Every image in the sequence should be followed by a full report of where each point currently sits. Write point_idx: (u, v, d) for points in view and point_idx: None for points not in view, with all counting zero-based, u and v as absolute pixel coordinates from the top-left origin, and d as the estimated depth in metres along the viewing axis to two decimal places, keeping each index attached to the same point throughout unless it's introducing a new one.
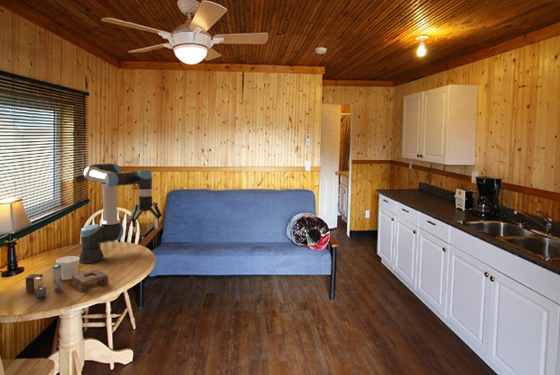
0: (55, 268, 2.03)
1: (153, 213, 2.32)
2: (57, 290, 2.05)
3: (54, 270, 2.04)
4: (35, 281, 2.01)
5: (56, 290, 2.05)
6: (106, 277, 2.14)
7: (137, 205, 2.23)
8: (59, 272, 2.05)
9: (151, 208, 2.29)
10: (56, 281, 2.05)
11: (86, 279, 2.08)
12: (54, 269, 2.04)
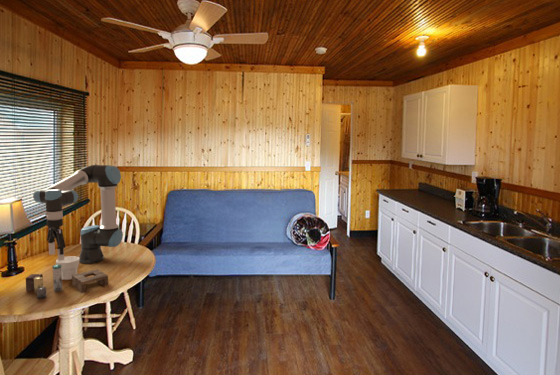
0: (55, 268, 2.03)
1: None
2: (57, 290, 2.05)
3: (54, 270, 2.04)
4: (35, 281, 2.01)
5: (56, 290, 2.05)
6: (106, 277, 2.14)
7: None
8: (59, 272, 2.05)
9: (53, 234, 2.00)
10: (56, 281, 2.05)
11: (86, 279, 2.08)
12: (54, 269, 2.04)
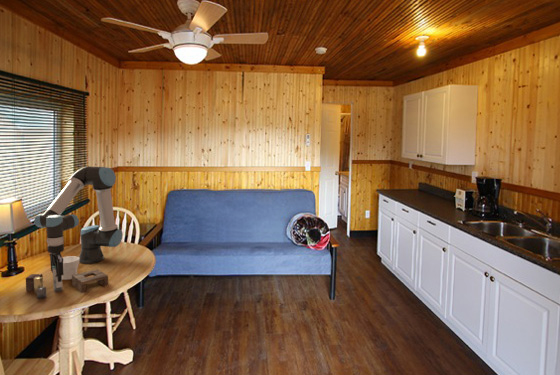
0: (55, 268, 2.03)
1: None
2: (57, 290, 2.05)
3: (54, 270, 2.04)
4: (35, 281, 2.01)
5: (56, 290, 2.05)
6: (106, 277, 2.14)
7: (49, 254, 2.07)
8: None
9: (54, 261, 2.02)
10: None
11: (86, 279, 2.08)
12: (54, 269, 2.04)
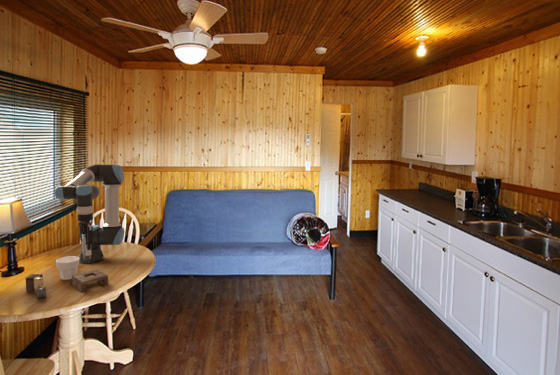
0: None
1: None
2: (86, 258, 2.10)
3: (84, 238, 2.09)
4: (35, 281, 2.01)
5: (85, 258, 2.10)
6: (106, 277, 2.14)
7: (79, 223, 2.13)
8: None
9: (84, 229, 2.07)
10: (85, 250, 2.10)
11: (86, 279, 2.08)
12: (84, 237, 2.09)
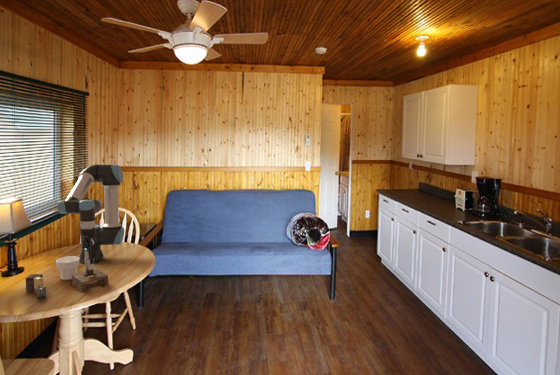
0: (87, 251, 2.10)
1: None
2: (89, 272, 2.12)
3: (86, 253, 2.10)
4: (35, 281, 2.01)
5: (88, 272, 2.12)
6: (106, 277, 2.14)
7: (81, 237, 2.14)
8: None
9: (86, 243, 2.09)
10: None
11: (86, 279, 2.08)
12: (86, 252, 2.10)
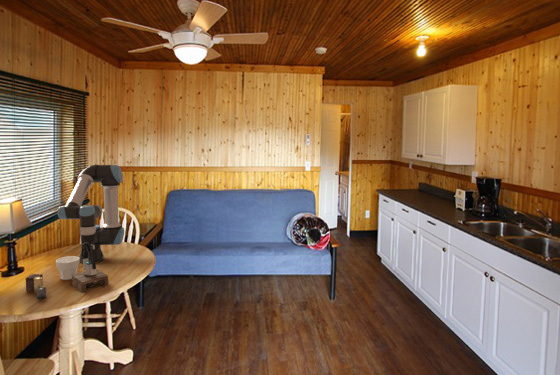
0: (88, 264, 2.11)
1: None
2: (90, 285, 2.13)
3: (87, 266, 2.11)
4: (35, 281, 2.01)
5: (89, 285, 2.13)
6: (106, 277, 2.14)
7: (81, 241, 2.15)
8: None
9: (87, 249, 2.09)
10: None
11: (86, 279, 2.08)
12: (87, 265, 2.11)
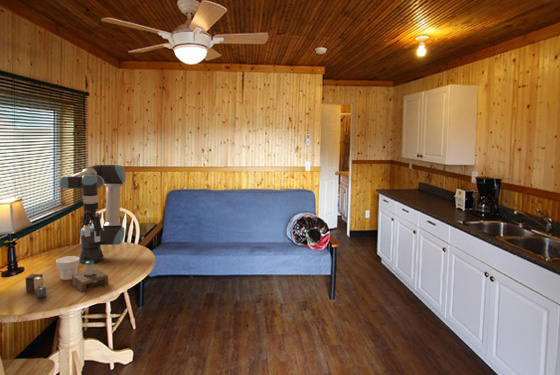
0: (88, 264, 2.11)
1: None
2: (90, 285, 2.13)
3: (87, 266, 2.11)
4: (35, 281, 2.01)
5: (89, 285, 2.13)
6: (106, 277, 2.14)
7: (84, 209, 2.17)
8: (92, 268, 2.13)
9: (90, 217, 2.11)
10: None
11: (86, 279, 2.08)
12: (87, 265, 2.11)
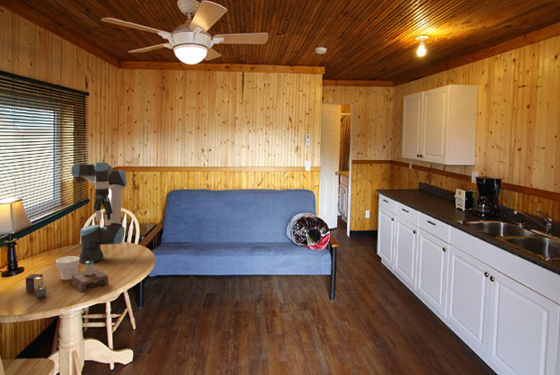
0: (88, 264, 2.11)
1: None
2: (90, 285, 2.13)
3: (87, 266, 2.11)
4: (35, 281, 2.01)
5: (89, 285, 2.13)
6: (106, 277, 2.14)
7: (96, 195, 2.30)
8: (92, 268, 2.13)
9: (101, 202, 2.25)
10: None
11: (86, 279, 2.08)
12: (87, 265, 2.11)
